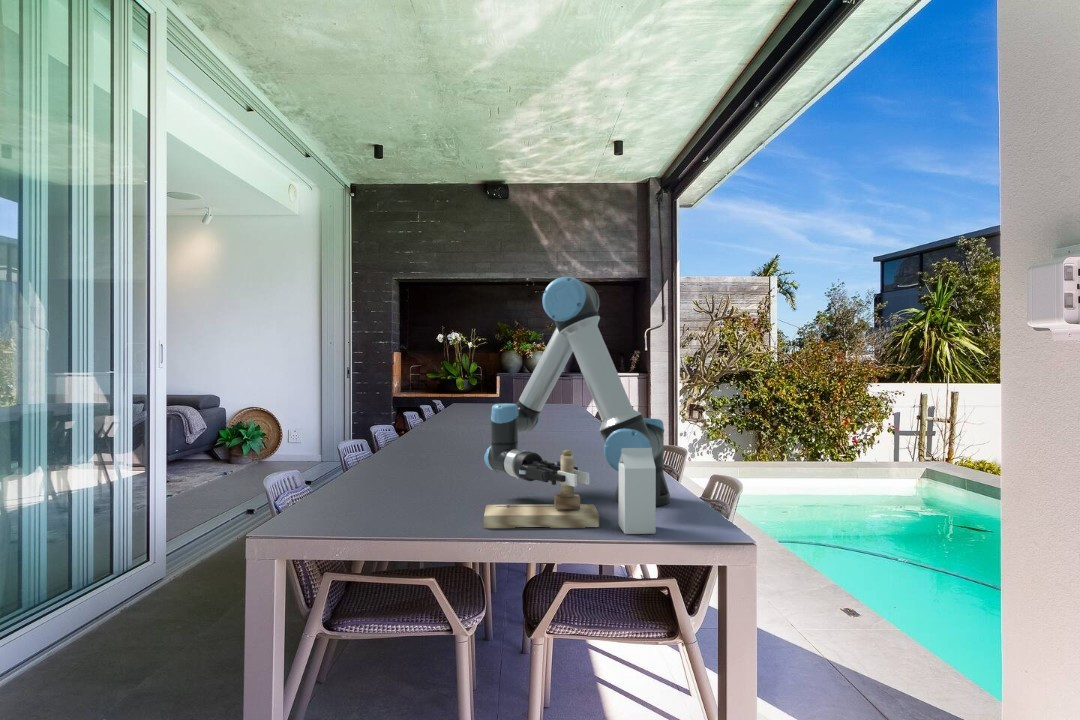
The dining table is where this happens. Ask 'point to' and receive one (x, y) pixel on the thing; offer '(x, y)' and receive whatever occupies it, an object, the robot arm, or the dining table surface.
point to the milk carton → (637, 491)
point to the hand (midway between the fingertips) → (581, 479)
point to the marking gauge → (567, 492)
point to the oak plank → (540, 516)
